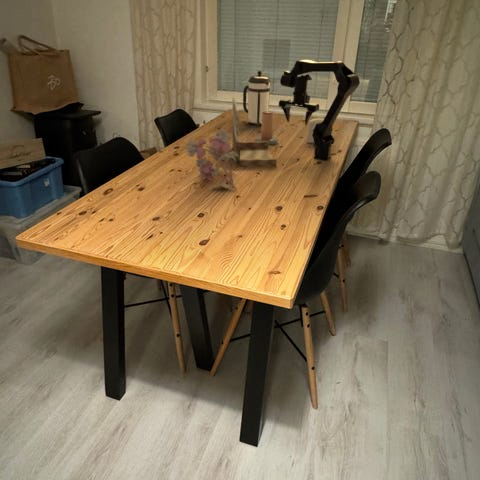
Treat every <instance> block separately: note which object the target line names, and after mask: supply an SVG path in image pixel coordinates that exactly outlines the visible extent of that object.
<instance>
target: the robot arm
mask: <svg viewBox="0 0 480 480" xmlns="http://www.w3.org/2000/svg"><path fill="white" fill-rule="evenodd" d="M320 72H323V73H327V72H329V73H331V72H332V73H333V74H334V76H335V80H336V82H337V83H338V85H337V88H336V89H337V93H336V96H335V97H334V99H333V101H332V103H331V105H330V107H329V109H328V111H327V113H326V115H325V116H324V118H323V119H324V120H323V122H321V123H317V124H316V126H315V128H314V130H313V131H314V132H313V134H312V136H313V139H314V143H313V144H314V147H315V148H314V156H313V158H314V159H317V160H322V161H328V160H329V159H330V158H332V156H331V152H332V151H331V150H332V145H334V143H335V141H336V140H335V138H334V136H333V135H332V133H333V125H334V123H335V121H336V120H337V118H338V116H339V114H340V112H341V110H342V108H344V105H345V103H346V101H347V100H348V98H349V97H350V96H351V95H352V94H353V93H355V91H356V90H357V89H358V87H359V86H360V83H361V81H360V78H359V76H358V75H357V74H355V72H354V71H353V70H351V69H350V68H349V67H348V66H347V65H346V64H345V63H344V61H325V62H321V61H319V62H318V61H315V60H311V59H302V60H301V59H300V60H296V61H295V62H294V66H293V67H292V69H291V70H290V71H289V70H284V71H283V74H282V75H281V77H280V79H279V81H280V85H281V87H287V88H291V89H294V90H293V92H292V96H293V97H292V98H293V100H291V99H290V98H283V99H280V100H279V102H278V107H279V108H280V109H282V110H283V113H284V115H285V119H286V121H287V123H289V122H290V118H291V117H290V115H291V107H296V108H300V109H301V108H302V109H306V110H307V111H305V120H304V125H305V126H306V125H307V126H308V124H309V121H310V120H311V119H310V118H311V116H312V115H313V113H316V112H318V111H319V110H320V104H319V103H318V102H317V103H316V102H310V101H311V96H310V95H308V91H307V89H308V81H312V80H313V78H312V77H311V75H310V74H311V73H320ZM309 73H310V74H309ZM304 74H305V75H304Z"/></svg>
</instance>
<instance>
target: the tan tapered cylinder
mask: <svg viewBox="0 0 480 480" xmlns="http://www.w3.org/2000/svg"><path fill="white" fill-rule="evenodd" d="M274 114H275V112H274V111H264V112H262V123H261V127H260V129H261V131H260V136H261V139H262V140H272V138H273V136H274V135H273V134H274V133H273V132H274V118H275V117H274V116H275V115H274Z"/></svg>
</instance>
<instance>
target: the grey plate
mask: <svg viewBox="0 0 480 480" xmlns="http://www.w3.org/2000/svg"><path fill="white" fill-rule="evenodd" d="M256 141H268V146H276V145H278V144H279V138H278V137H277V136H275V135H273V138H272V140H262V139H261V135H258V136H256V137H254V142H256Z"/></svg>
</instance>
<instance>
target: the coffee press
mask: <svg viewBox="0 0 480 480" xmlns="http://www.w3.org/2000/svg"><path fill="white" fill-rule="evenodd" d="M247 82H248V85H245V86H244V87H243V94H242V106H243V111H245V113H246V114H247V119H246V120H245V124H246V125H247V124H249V123H252V124H256V127H257V128H259V127H260V124H262V112H264V111H269V110H270V94H271V93H270V90H271V87H270V84H271V79H270V77H269V76H267V75H263V74H262V71H261V70H258V71H257V74H255V75H251V76H249V78H248V81H247ZM247 91H248V92H247ZM247 93H248V96H247ZM247 121H248V122H247Z"/></svg>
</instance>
